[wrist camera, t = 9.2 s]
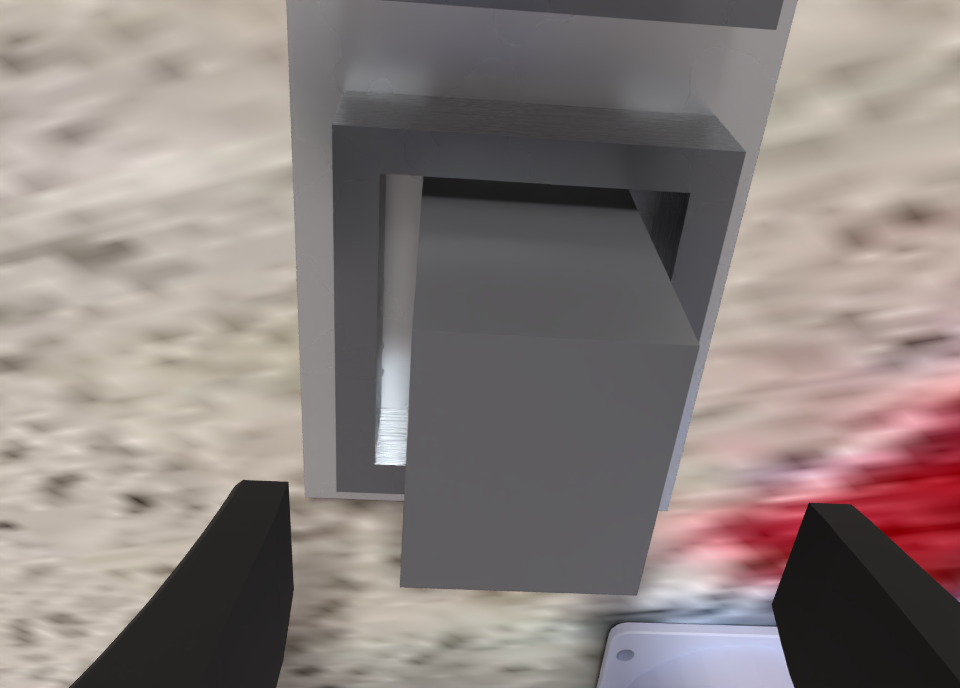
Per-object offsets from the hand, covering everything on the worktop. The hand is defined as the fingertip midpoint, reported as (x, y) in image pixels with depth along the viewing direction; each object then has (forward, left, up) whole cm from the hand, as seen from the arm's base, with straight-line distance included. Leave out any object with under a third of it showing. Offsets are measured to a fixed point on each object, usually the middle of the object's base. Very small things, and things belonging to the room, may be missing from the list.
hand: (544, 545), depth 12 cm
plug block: (0, 0, -7) cm, 7 cm away
